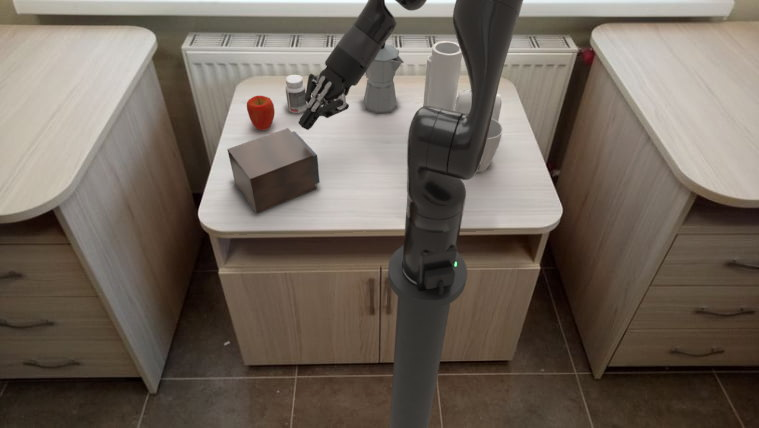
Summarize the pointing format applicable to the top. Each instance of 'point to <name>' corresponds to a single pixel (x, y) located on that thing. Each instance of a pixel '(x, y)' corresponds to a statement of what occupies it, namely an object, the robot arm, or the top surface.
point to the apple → (261, 112)
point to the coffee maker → (382, 81)
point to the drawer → (313, 157)
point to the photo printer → (465, 101)
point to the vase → (442, 75)
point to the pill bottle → (295, 94)
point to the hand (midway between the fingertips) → (303, 126)
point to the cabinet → (272, 169)
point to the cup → (491, 144)
